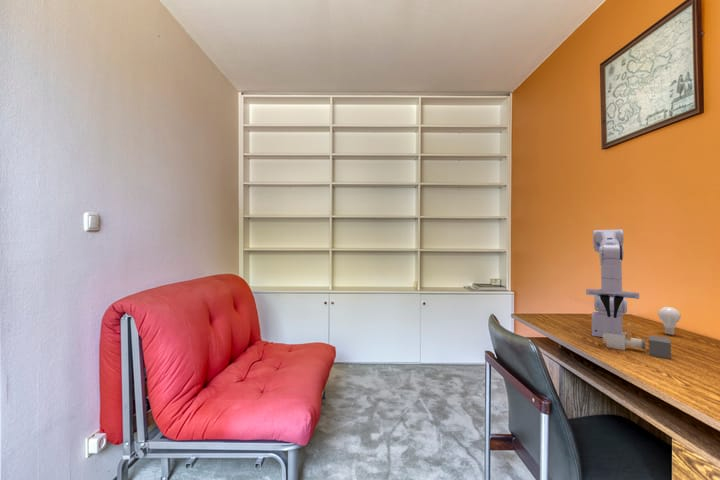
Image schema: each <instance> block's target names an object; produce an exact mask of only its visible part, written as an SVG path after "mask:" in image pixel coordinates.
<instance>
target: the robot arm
mask: <svg viewBox="0 0 720 480" xmlns="http://www.w3.org/2000/svg"><path fill="white" fill-rule="evenodd" d="M592 239H593V240H592V241H593V243H592V244H593V249H594V252H596V253H599V254H598V255H599V257H598V258H599V260H600V261H599V262H600V276H601V277H600V280H601V283H600V284H601V285H600V286H601V287H600V288H598V289H596V288H595V289H594V288H586V289H585V294H586V295H589V296H590V295H591V296H592V295H593V296H594V299H593V300H594V301H593V302H594V307H593V308H594V310H595V311H593V312H592V313H591V336H593V337H601V338H603V333H604V334H606V332H607V330H612V331H619V332H623V316H624V315H626V314H627V312H628V305H627V304H628V302H627V299H628V298H629V299H635V300H636V299H637V300H640V292H635V291H634V292H633V291H623V271H622V269H623V267H622V266H623V265H622V264H623V263H622V262H623V260H624V246H623V245H624V230H623V229H622V228H619V229H594V230H593V231H592Z"/></svg>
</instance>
